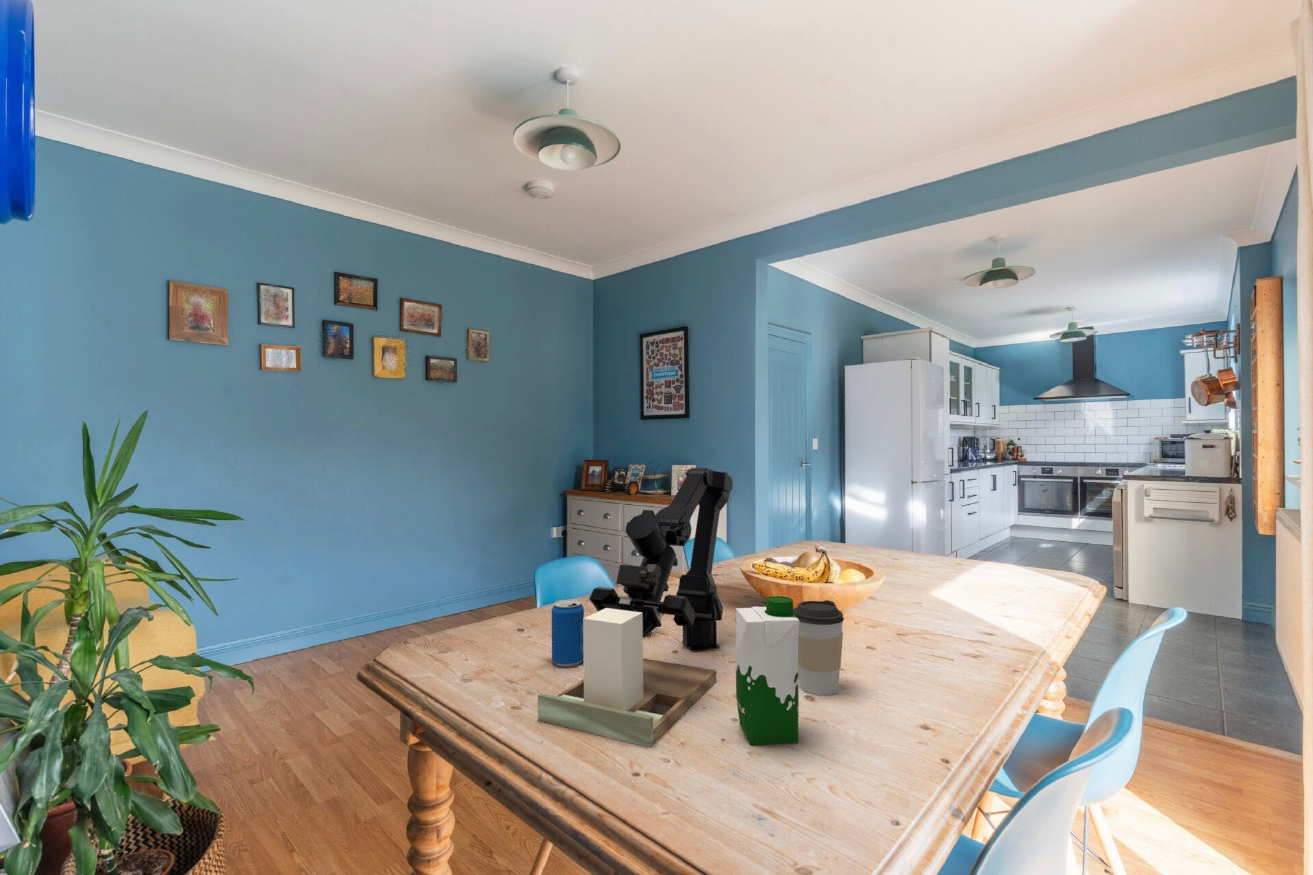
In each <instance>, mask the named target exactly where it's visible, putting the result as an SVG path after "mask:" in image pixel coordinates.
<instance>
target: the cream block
mask: <svg viewBox="0 0 1313 875" xmlns="http://www.w3.org/2000/svg"><path fill="white" fill-rule="evenodd" d="M583 648H584V660H583V679H584V702H587V703H592V704H596V705H601V706H606V707H610V708H615V709H620V710H625V711H628V710H629V709H630V708H632V707H633V706H634V705H635V704H637V703H638V702H639V701H640V700H641V699H643V658H644V653H643V652H644V638H643V616H642V612H634V611H626V610H618V609H611V608H605V609H603V610H601V611H597V612H595V613H593V614H590V615H587V616H586V617H584V618H583Z"/></svg>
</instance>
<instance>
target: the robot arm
mask: <svg viewBox="0 0 1313 875" xmlns="http://www.w3.org/2000/svg"><path fill="white" fill-rule="evenodd" d="M733 482H734V481H733V478H732V477H731V476H730V475H729V474H728V472H727V471H716V470H713V469H710V468H708V467H691V468H688V469H687V471H686V474H685V478H684V480H683V482H682V483H681V485H680V487H679V489H678V491H677V492H676V494H675V495H674V497H673V499H672V500H671V503H670V504H669V505H668V506H666V507H664V508H662V509H659V510H658V511H657V513H655V512H654V510H653V509H643V510H642V512H641V513H640V514H638V515H636V516H634V517H632V518H631V519H630V520H629V521H628V522H627V523H626V526H625V533H626V535H627V537H628V539H629V541H630V542H631V544H632V546H633V548H634V549H635V551H636V552H637V554H638V555H639V556H641V557H643V558H642V560H641V562H640V565H630V564H629V565H628V564H619V568H618V571H617V572H618V573H617V577H616V582H615V583H616V584H617V585H621V586H623V589H622V591H623V592H624V594H626V595H623V594H621V595H618V593H617V591H616V590H615V589H614V588H613V587H612V588H611V587H609V588H608V587H604V586H603V587H601V586H597V587H595V588H593V589H592V591H591V593H590V595H589V598H588V599H589V601H590V602H591V604H592V605H593V606H594V608H595V610H596V611H597V612H598V611H601V610H603V609H605V608H611V609H618V610H626V611H634V612H642V616H643V639H644V638H645V637H646V636H648V635H649V634H651V632H652V631H653V630H655V629H656V628H661V627H662V622H661V620H662V618H663V616H665V615H668V616H669V615H670V616H673V618H672V619H673V621H674V622H675V624H676V626H678V627H682V640H681V643H682V644H683V645H684V646H686V647H687V649H689V650H690V651H691V652H700V651H701V652H702V651H707V650H716V649H721V645H720V644H718V643H717V639H718V638H717V636H718V635H717V632H718V631H717V621H718V622H719V621H722V620H723V614H724V606H723V603H722V602H721V600H720V598H719V596H718V593H717V591H718V586H717V584H716V581H715V579H714V577H713V575H712V572H713V564H714V558H715V557H714V556H715V551H716V550H715V549H716V543H717V542H716V541H717V535H718V527H719V521H720V513H721V511H722V510H723V508H724V507H725V505H726V504H728V502H729V500H730V494H731V492H732V490H733V485H734V483H733ZM697 506H699V507H698V508H699V509H698V513H697V514H698V515H697V520H696V528H695V535H694V540H693V546H692V553H691V560H690V565H689V570H688V571H687V572H686V573H685V574H681V576H680V577H679V582H678V584H679V585H678V588H677V592H676V594H675V595H673V594H667V595H665V596H664V599H663V601H662V597H663V595H664V592H668V590H669V588H670V585H669V584H668V581H669V577H670V575H671V571H672V569H673V567H677V566H678V565H679V563H678V562H679V561H678V558H677V553H676V552H675V549H674V548H673V547H675V546H676V547H684V546H685V545H686V544H687V543H688V541H689V540H690V537H691V534H692V525H691V518H692V517H693V514H694V513H695V510H696V508H697ZM627 594H628V596H627ZM648 633H649V634H648ZM647 634H648V635H647Z"/></svg>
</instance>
